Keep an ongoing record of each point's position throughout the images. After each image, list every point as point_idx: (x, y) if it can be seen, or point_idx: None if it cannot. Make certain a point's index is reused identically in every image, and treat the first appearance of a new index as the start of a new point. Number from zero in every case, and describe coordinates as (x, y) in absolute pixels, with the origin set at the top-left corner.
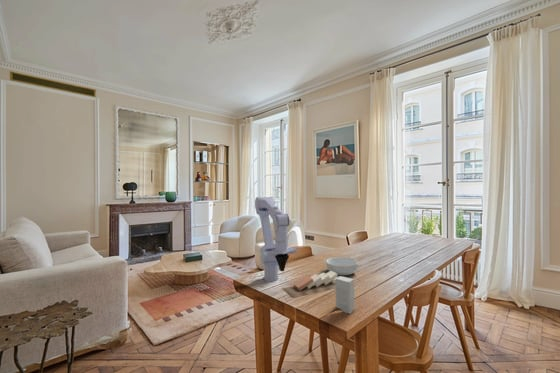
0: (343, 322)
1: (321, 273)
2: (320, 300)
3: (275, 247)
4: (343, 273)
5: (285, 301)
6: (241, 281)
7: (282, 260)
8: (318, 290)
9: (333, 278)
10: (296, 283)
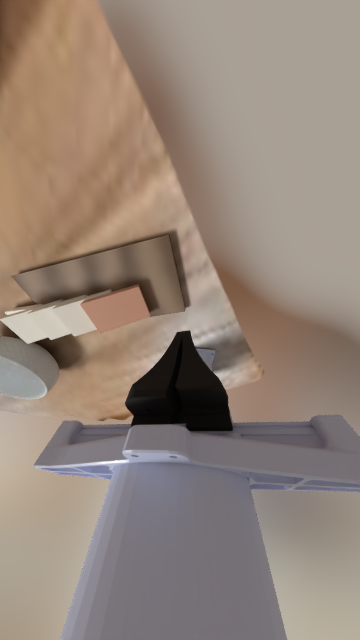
0: None
1: (57, 337)
2: (76, 205)
3: (265, 563)
4: (10, 338)
5: (194, 233)
6: (256, 372)
7: (186, 369)
8: (80, 271)
9: (25, 310)
10: (140, 312)
